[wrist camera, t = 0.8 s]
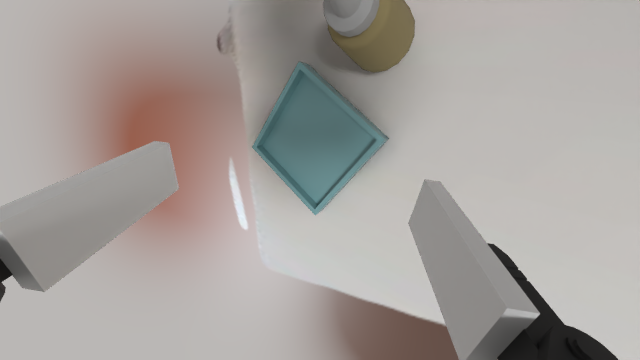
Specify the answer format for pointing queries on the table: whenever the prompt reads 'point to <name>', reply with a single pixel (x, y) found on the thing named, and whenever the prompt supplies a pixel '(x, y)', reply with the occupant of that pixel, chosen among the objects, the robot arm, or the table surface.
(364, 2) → the squeeze bottle
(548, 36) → the table surface
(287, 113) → the tray
